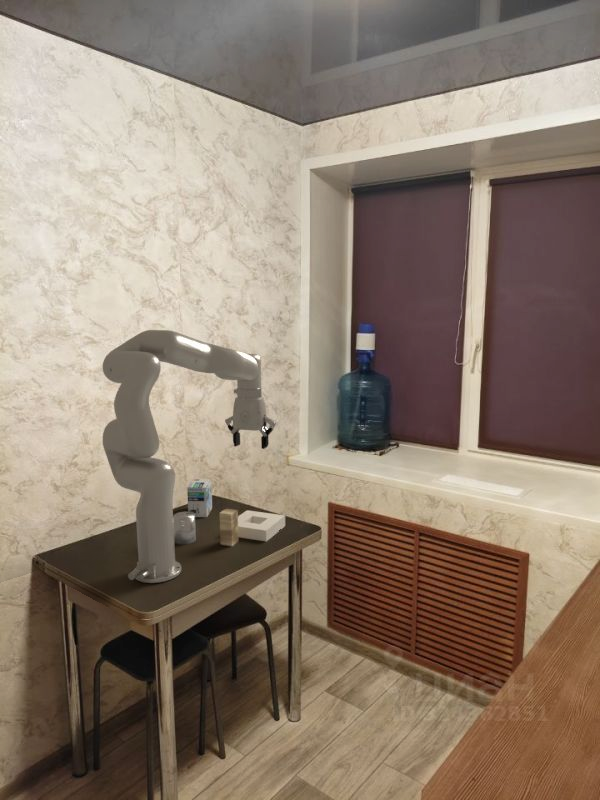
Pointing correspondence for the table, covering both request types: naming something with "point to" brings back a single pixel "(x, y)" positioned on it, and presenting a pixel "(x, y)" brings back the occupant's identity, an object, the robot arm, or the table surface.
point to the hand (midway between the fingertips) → (250, 446)
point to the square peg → (229, 527)
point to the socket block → (259, 525)
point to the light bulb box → (200, 497)
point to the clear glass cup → (184, 527)
